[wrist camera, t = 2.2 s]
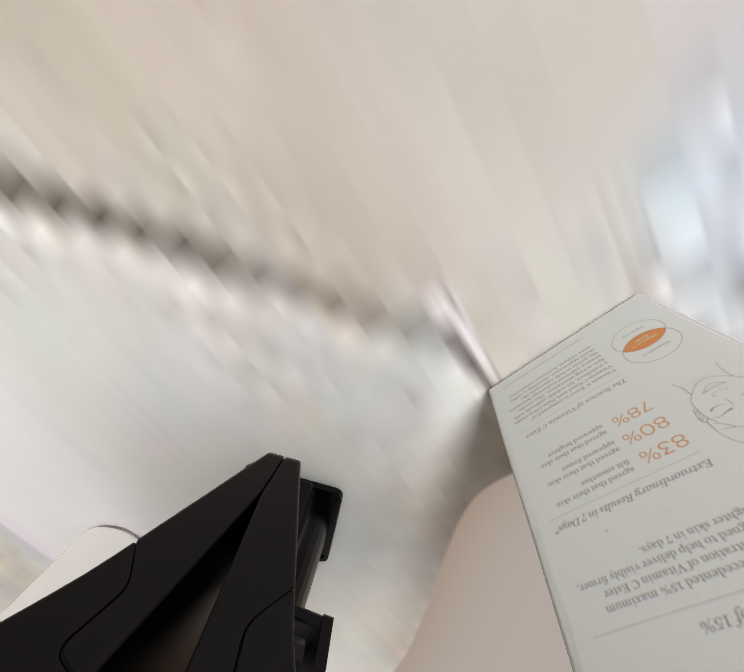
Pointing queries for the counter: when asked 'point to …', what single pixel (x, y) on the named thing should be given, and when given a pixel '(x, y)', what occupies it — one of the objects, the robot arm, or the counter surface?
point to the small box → (636, 488)
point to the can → (74, 564)
